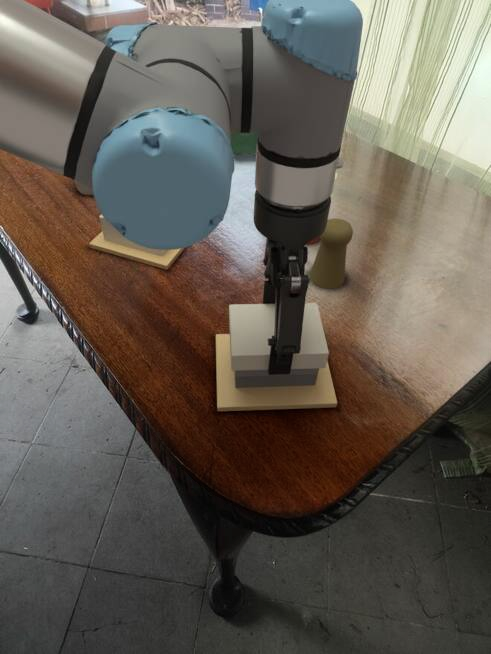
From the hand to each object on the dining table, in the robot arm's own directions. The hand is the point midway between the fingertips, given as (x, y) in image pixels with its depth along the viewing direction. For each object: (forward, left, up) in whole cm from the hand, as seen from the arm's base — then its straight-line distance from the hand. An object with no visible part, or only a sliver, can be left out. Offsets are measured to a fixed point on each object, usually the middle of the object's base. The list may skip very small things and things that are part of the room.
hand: (274, 343), depth 60 cm
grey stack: (0, 0, -6) cm, 6 cm away
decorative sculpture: (-9, +68, -6) cm, 69 cm away
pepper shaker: (+8, +22, -6) cm, 24 cm away
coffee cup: (-42, +44, -6) cm, 61 cm away
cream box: (-26, +28, -6) cm, 39 cm away
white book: (0, 0, 0) cm, 0 cm away
